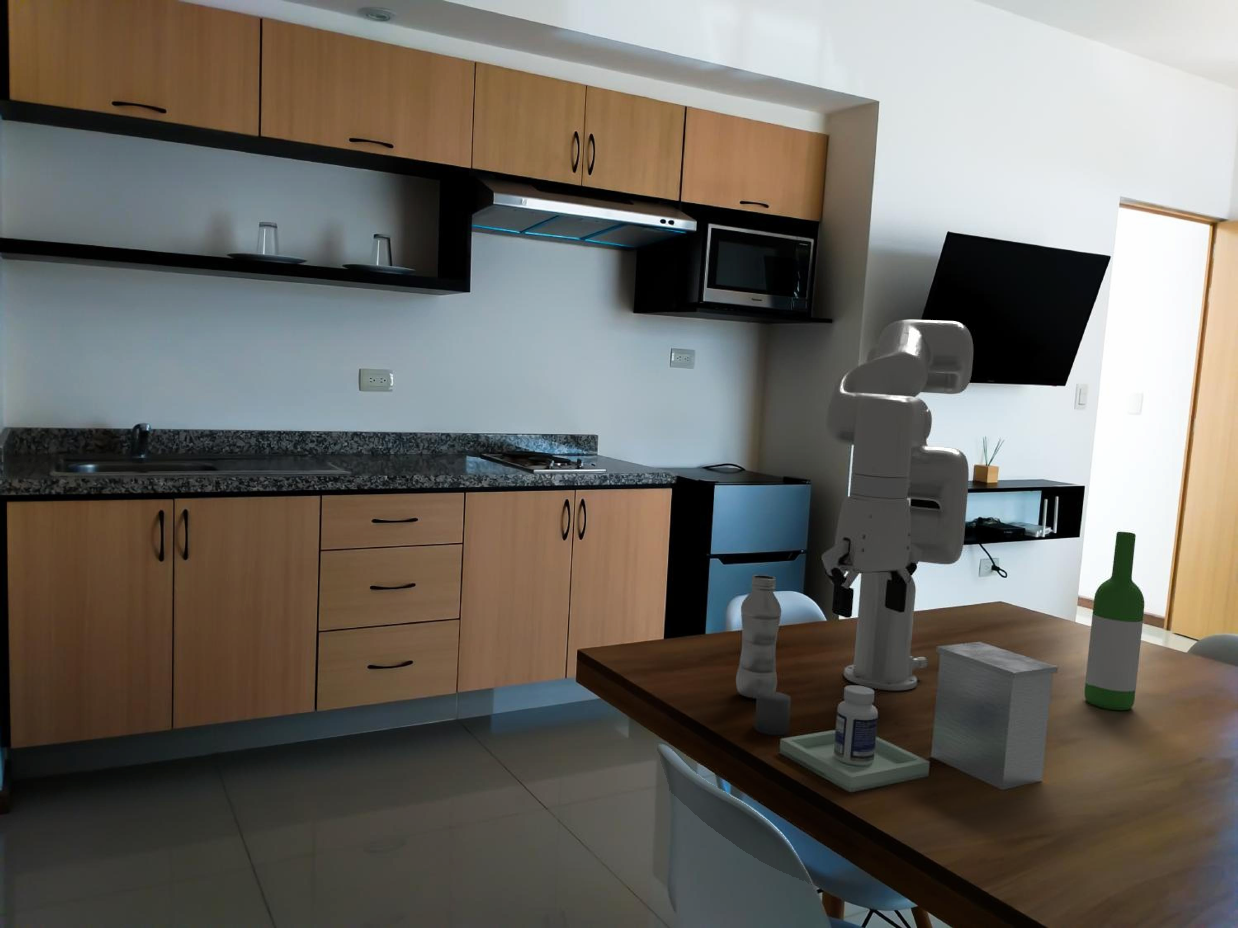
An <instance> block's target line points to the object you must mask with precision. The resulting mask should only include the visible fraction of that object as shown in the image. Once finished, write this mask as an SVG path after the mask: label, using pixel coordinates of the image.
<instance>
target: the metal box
mask: <svg viewBox="0 0 1238 928" xmlns="http://www.w3.org/2000/svg"><path fill="white" fill-rule="evenodd" d="M935 652H936V653H938V654H940V655H939V665H938V673H937V674H938V676H937V687H936V696H935V697H936V698H935V708H934V710H935V711H934V721H933V731H932V740H931V741H932V743H931V753H930V757H931V758H933V759H935V760H937V761H939V762H941V763H944V764H946V765H948V766H949V767H953V768H955V769H957V770H958V771H961V772H963V773H965V774H967V775H969V776H972V777H974V778H976V779H978V780H980V781H982V782H985V783H987V784H989V785H991V786H993V787H995V788H997V789H998V790H1001V791H1002V790H1007V789H1012V788H1016V787H1020V786H1026V785H1030V784H1034V783H1038V782H1042V781H1043V773H1044V764H1045V763H1044V762H1045V753H1046V742H1047V734H1048V733H1047V732H1048V723H1049V714H1050V713H1049V712H1050V703H1051V694H1052V693H1051V692H1052V684H1053V682H1052V681H1053V674H1056V673H1057V674H1058V672H1059V671H1058V669H1059V666H1057V665H1053V664H1051V663H1047V662H1044V661H1042V660H1039V659H1036V658H1032V657H1028V656H1026V655H1022V654H1020V653H1015V652H1013V651H1010V650H1007V649H1005V648H1003V649H1002V648H1001V647H997V646H993V645H991V644H988V643H984V642H981V641H977V642H976V641H974V642H965V643H956V644H955V643H954V644H948V645H939V646H938V645H937V646H936V650H935Z"/></svg>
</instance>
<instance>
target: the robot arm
mask: <svg viewBox="0 0 1238 928" xmlns="http://www.w3.org/2000/svg"><path fill="white" fill-rule="evenodd" d="M973 361H974V343H973V337H972V335H971V332H970V330H969V329H968V328H967V326H966V325H964V324H963V323H961V322H959V321H955V320H937V319H936V320H933V319H932V320H931V319H901V320H896V321H893V322H892V323H890V324H888V325H887V326H886V327H885V328H884V329H883V330H882V332H881V333H880V336H879V338H878V342H877V344H876V345H874V346H872V347H871V348H870V349H869V351H868V353H867V357H866V362H864V363H862V364H860V365H858V366H855V367H853V368H851V369H850V370H847V371H846V372H845V373H843V374H842V375H841V376H840V377H839V379H838V380H837V381H836V383H835V386H834V387H833V391H832V393H831V396H830V400H829V403H828V407H827V410H826V411H827V412H826V419H825V421H826V430H827V434H828V435H829V436H830V439H831V440H832V441H834V442H836V443H837V444H841V445H846V446H853V447H852V449H853V450H852V462H851V473H850V488H849V496H845V497H844V500H843V502H842V506H841V508H840V513H839V516H838V517H839V518H838V521H837V526H836V532H835V533H836V534H835V540H834V541H835V542H834V546H833V547H831V548H829V549H827V551H825V552H824V553H822V554H821V560H822V563H823V567H824V570H825V571H824V572H825V574H826V576H827V578H829V582H830V584H831V585H833V595H832V605H831V606H832V607H831V612H832V613H833V614H835V615H837V616H841V617H843V618H845V619H850V618H852V617H853V616H852V615H853V606H854V593H855V592H854V591H855V589H854V588H852V587H851V586H852V584H853V583H854V582H855V580H856V579H857V577H858V576H859V574H860V584H859V597H858V598H859V599H858V608H857V609H858V611H857V623H856V634H855V644H854V645H855V646H854V657H853V658H854V659H853V664H850V665H847V666H846V667H844V670H843V676H844V678H845V679H846V680H847V681H850V682H851V683H853V684H855V685H858V686H864V687H868V688H870V689H874V690H875V689H876V690H882V691H907V690H910V689H915V687H916V686H917V684H918V679H917V677H916V675H914V674H913V671H915V670H916V669H922V668H926V667H927V666H928V660H927V658H926V657H924V656H918V657H914V656H912V655H911V647H912V639H913V638H912V636H913V627H914V614H915V613H914V612H915V603H916V602H915V601H916V591H917V588H916V582H915V580H914V578H913V574H914V573H915V572H916V571H917V568H918V563H927V564H930V563H931V564H938V565H952V564H955V563H957V561H959V559H960V557H961V556H962V553H963V549H964V541H965V532H966V531H965V530H966V518H967V505H968V495H969V494H968V491H969V478H970V476H969V475H970V474H969V472H970V471H969V462H968V459H967V456H966V455H965V454H964V453H963V452H962V451H961V450H959V449H956V448H952V447H947V446H946V447H945V446H933V445H928V444H927V441H928V440H927V439H928V438H929V436H930V434H931V431H932V425H933V424H932V423H933V422H932V421H933V418H932V412H931V410H930V409H929V407H928V405H927V404H926V402H925V401H924V400H922V399H921V398H919V397H917V396H918V395H919V394H921V393H926V394H927V393H928V394H929V393H931V394H945V395H955V394H960V393H962V392H964V391H965V390H966V389H967V388H968V386H969V384H970V381H971V377H972V372H973ZM910 499H911V500H922V501H933V502H936V504H938V506H939V508H929V507H921V506H912V505H910V501H909V500H910ZM845 574H846V575H845Z"/></svg>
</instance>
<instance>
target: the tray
mask: <svg viewBox="0 0 1238 928" xmlns="http://www.w3.org/2000/svg"><path fill="white" fill-rule="evenodd" d="M835 732H836V729H833V730H832V729H831V730H826V731H821V732H814V733H808V734H802V735H797V736H790V737H784V738H780V742H779V754H781V755H783V756H784V757H787V758H788V759H790V760H791V761H793V762H795V763H797V764H799V765H801V766H802V767H804V768H806V769H807V770H809V771H811V772H813V773H814V774H816V775H818V776H820V777H822V778H824V779H825V780H827V781H829V782H831V783H833V784H834V785H835V786H837V787H839V788H841V789H843V790H845V791H847V792H849V793H855V792H859V791H865V790H870V789H875V788H877V787H883V786H889V785H892V784H893V785H894V784H898V783H903V782H907V781H908V782H909V781H911V780H918V779H921V778H922V779H923V778H926V777H929V772H930V763H931V761H929V760H927V759H925V758H923V757H921V756H918V755H917V754H914V753H912V752H910V751H908V750H906V749H903V748H902V747H900V746H897V745H895V744H893V743H890V742H889V741H887V740H885V739H884V738H883V739H882V738H880V737H878V736H876V742H875V755H874V761H873V763H871V764H870V765H866V766H856V765H850V764H846V763H843V762H841V761H839V760H837V759H836V758H835V756H834V744H835Z"/></svg>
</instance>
